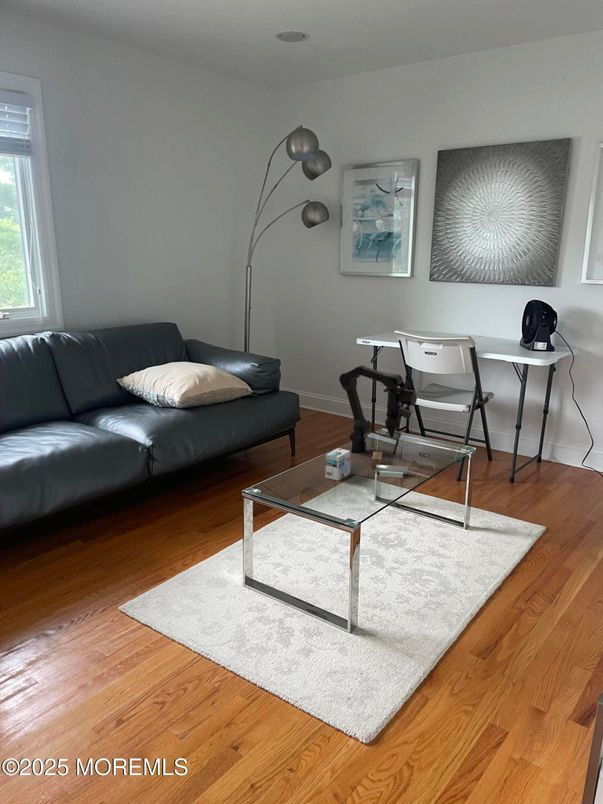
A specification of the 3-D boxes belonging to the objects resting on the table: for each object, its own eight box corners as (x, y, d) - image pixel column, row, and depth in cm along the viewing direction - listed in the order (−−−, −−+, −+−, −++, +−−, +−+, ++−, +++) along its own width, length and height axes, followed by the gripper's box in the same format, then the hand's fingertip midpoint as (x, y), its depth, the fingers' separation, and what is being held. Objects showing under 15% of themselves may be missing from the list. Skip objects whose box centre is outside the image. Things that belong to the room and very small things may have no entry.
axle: (376, 473, 269) (376, 466, 268) (376, 470, 273) (376, 463, 272) (408, 475, 267) (408, 468, 266) (408, 472, 270) (408, 465, 269)
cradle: (379, 476, 267) (379, 472, 266) (380, 469, 274) (380, 465, 274) (402, 478, 265) (403, 473, 265) (403, 471, 273) (403, 467, 272)
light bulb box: (338, 481, 261) (338, 457, 259) (324, 477, 265) (325, 454, 262) (350, 473, 270) (351, 450, 267) (337, 470, 274) (338, 447, 271)
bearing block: (371, 468, 276) (372, 458, 274) (373, 461, 285) (373, 451, 284) (380, 469, 275) (381, 459, 274) (381, 461, 284) (382, 452, 283)
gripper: (411, 408, 271) (409, 441, 275) (411, 398, 289) (409, 429, 293) (385, 407, 273) (384, 440, 277) (387, 396, 291) (386, 428, 295)
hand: (392, 434), depth 285 cm, fingers open, 9 cm apart
